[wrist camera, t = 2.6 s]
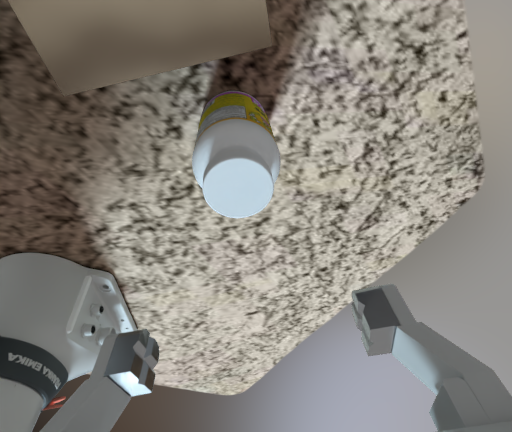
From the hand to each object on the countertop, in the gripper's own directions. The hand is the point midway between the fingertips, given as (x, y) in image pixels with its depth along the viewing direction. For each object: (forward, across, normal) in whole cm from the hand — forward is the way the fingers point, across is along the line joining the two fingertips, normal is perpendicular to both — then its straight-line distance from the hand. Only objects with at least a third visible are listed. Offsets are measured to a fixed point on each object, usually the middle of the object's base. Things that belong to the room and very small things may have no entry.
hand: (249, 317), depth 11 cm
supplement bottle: (+22, 0, 0) cm, 23 cm away
